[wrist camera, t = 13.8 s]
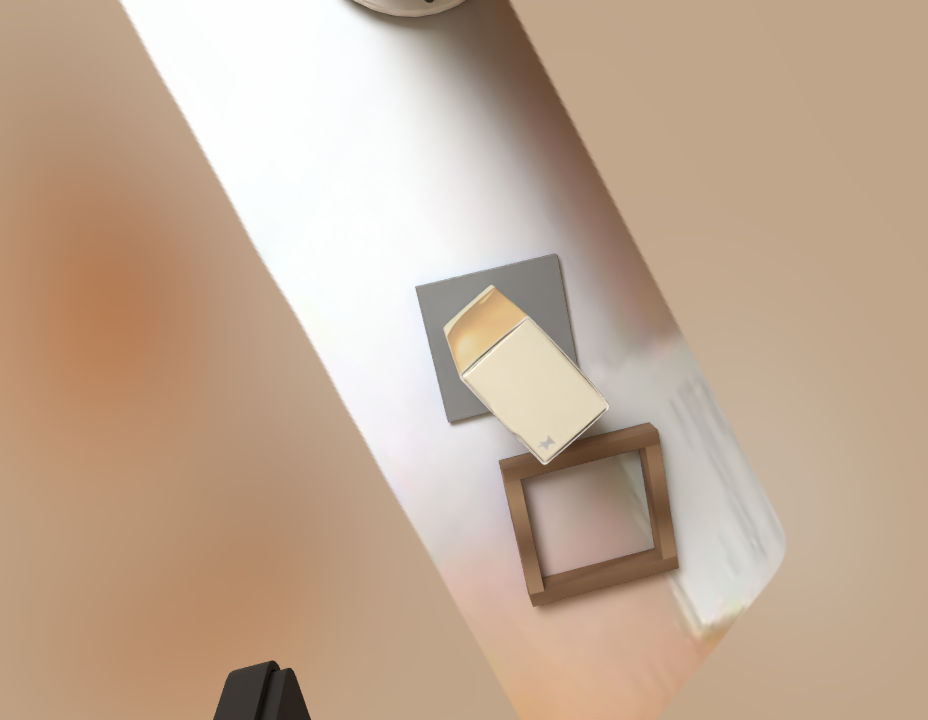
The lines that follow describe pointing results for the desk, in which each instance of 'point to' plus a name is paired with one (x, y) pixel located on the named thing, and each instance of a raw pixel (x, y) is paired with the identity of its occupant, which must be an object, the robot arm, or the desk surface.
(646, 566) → the square wooden frame
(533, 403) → the skincare box
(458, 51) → the desk surface
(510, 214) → the desk surface
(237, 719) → the robot arm
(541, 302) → the rubber mat
